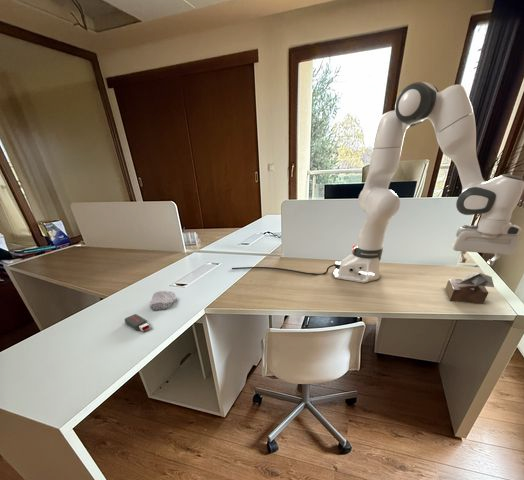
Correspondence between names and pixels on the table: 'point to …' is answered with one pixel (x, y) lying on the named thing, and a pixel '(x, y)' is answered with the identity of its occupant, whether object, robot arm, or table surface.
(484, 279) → the paper boat
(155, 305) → the stone block
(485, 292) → the walnut block
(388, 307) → the table surface
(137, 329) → the usb drive
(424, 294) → the table surface
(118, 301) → the table surface
